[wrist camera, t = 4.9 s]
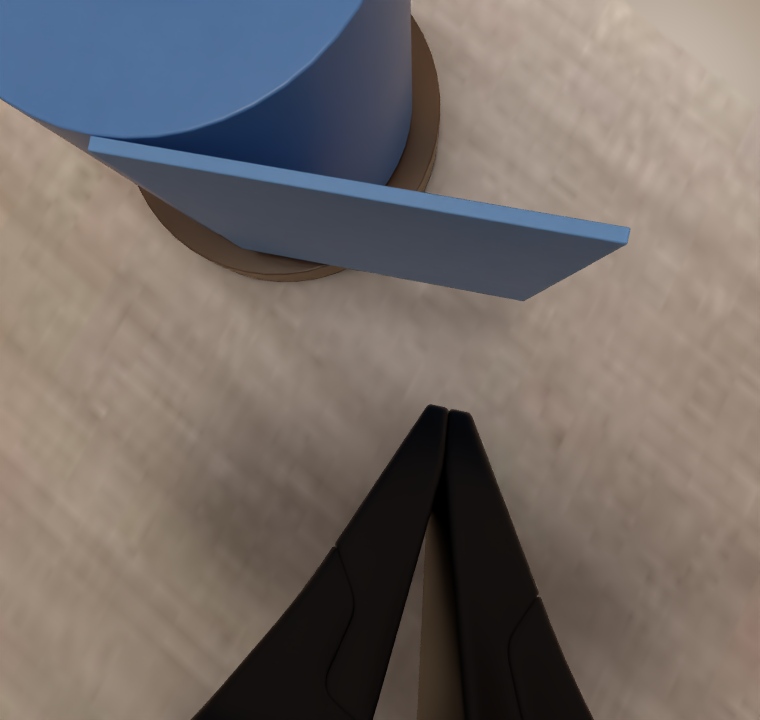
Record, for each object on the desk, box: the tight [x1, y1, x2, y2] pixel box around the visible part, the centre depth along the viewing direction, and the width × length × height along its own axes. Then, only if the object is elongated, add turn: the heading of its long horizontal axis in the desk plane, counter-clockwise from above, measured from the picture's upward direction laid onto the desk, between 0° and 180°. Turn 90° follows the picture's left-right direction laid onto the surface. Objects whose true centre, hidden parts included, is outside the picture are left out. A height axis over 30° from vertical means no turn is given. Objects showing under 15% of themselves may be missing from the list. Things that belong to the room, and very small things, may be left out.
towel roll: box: [0, 0, 630, 301], centre depth 11 cm, size 10×15×10 cm
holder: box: [138, 15, 440, 282], centre depth 17 cm, size 12×12×2 cm
